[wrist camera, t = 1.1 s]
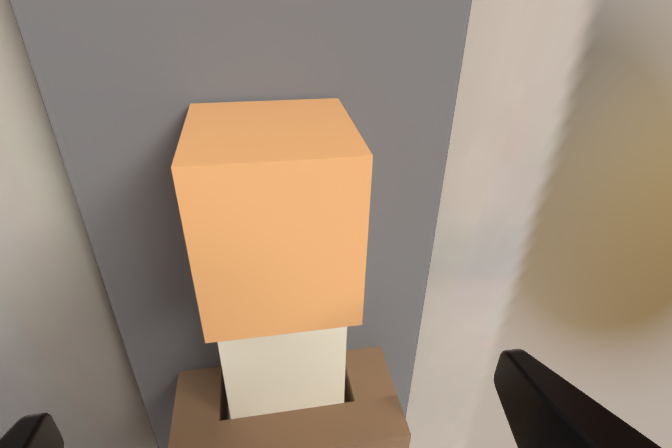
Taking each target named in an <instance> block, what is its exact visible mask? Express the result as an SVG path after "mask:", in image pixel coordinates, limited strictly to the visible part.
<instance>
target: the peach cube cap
mask: <svg viewBox="0 0 672 448" xmlns="http://www.w3.org/2000/svg"><path fill="white" fill-rule="evenodd" d="M372 164H373V155H372V153H371V151H370V150H369V148H368V146H367V145H366V143H365V141H364V140H363V138H362V136H361V135H360V133H359V131H358V130H357V128H356V127H355V125H354V123H353V122H352V120H351V118H350V117H349V115H348V113H347V112H346V110H345V108H344V107H343V105H342V103H341V102H340V100H339V98H326V99H299V100H272V101H245V102H218V103H191V104H190V106H189V109H188V112H187V116H186V119H185V122H184V126H183V129H182V132H181V136H180V139H179V142H178V146H177V149H176V152H175V155H174V159H173V162H172V165H171V170H172V175H173V180H174V186H175V191H176V196H177V201H178V206H179V211H180V216H181V221H182V226H183V232H184V237H185V242H186V247H187V252H188V257H189V262H190V267H191V273H192V278H193V283H194V288H195V293H196V298H197V303H198V308H199V313H200V319H201V324H202V329H203V334H204V339H205V343H212V342H221V341H229V340H238V339H246V338H255V337H263V336H272V335H280V334H289V333H297V332H306V331H314V330H323V329H331V328H340V327H348V326H357V325H362V319H363V304H364V288H365V273H366V257H367V242H368V226H369V211H370V195H371V180H372Z"/></svg>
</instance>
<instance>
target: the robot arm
mask: <svg viewBox="0 0 672 448" xmlns="http://www.w3.org/2000/svg"><path fill="white" fill-rule="evenodd" d="M494 384H495V387H496V390H497V393H498V395H499V398H500V401H501V404H502V406H503V409H504V412H505V414H506V417H507V420H508V422H509V425H510V428H511V431H512V433H513V436H514V439H515V441H516V444H517V446H518V448H661V447H660V446H658V445H657V444H655V443H654V442H653V441H651V440H650V439H648V438H647V437H646V436H644V435H643V434H641V433H640V432H638V431H637V430H636V429H634V428H633V427H631V426H630V425H629V424H627V423H626V422H624V421H623V420H621V419H620V418H619V417H617V416H616V415H614V414H613V413H611V412H610V411H609V410H607V409H606V408H604V407H603V406H602V405H600V404H599V403H597V402H596V401H595V400H593V399H592V398H590V397H589V396H588V395H586V394H585V393H583V392H582V391H580V390H579V389H577V388H576V387H575V386H573V385H572V384H571V383H569V382H568V381H566V380H565V379H563V378H562V377H560V376H559V375H558V374H556V373H555V372H553V371H552V370H551V369H549V368H548V367H547V366H545V365H544V364H542V363H541V362H539V361H538V360H537V359H535V358H534V357H532V356H531V355H530V354H528V353H527V352H525V351H524V350H521V349H513V350H505V351H503V352H502V353H501V354H500V357H499V361H498V364H497V367H496V371H495V374H494ZM0 448H64V442H63V438H62V436H61V434H60V432H59V430H58V428H57V426H56V424H55V422H54V420H53V418H52V416H51V415H50V414H48V413H39V414H32V415H27V416H24V417H22V418H21V419H19V420H18V421H17V422H16V423H15V424H14V425H13V426H12V427H11V428H10V430H9V431H8V432H7V433H6V434H5V435H4V436H3V437H2V438H1V439H0Z"/></svg>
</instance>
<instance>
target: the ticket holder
mask: <svg viewBox="0 0 672 448" xmlns="http://www.w3.org/2000/svg"><path fill="white" fill-rule="evenodd" d="M10 2H11V5H12V8H13V11H14V14H15V17H16V20H17V23H18V26H19V29H20V32H21V35H22V38H23V41H24V44H25V47H26V50H27V53H28V56H29V59H30V62H31V65H32V68H33V71H34V74H35V77H36V80H37V83H38V86H39V89H40V92H41V95H42V98H43V102H44V105H45V108H46V111H47V114H48V117H49V120H50V123H51V126H52V129H53V132H54V135H55V138H56V141H57V144H58V147H59V150H60V153H61V156H62V159H63V162H64V165H65V168H66V171H67V174H68V177H69V180H70V183H71V186H72V189H73V192H74V195H75V198H76V201H77V204H78V207H79V210H80V213H81V216H82V219H83V222H84V225H85V228H86V231H87V234H88V237H89V240H90V243H91V246H92V249H93V252H94V255H95V258H96V261H97V264H98V267H99V270H100V273H101V276H102V279H103V282H104V285H105V288H106V291H107V294H108V297H109V300H110V303H111V306H112V309H113V312H114V315H115V318H116V321H117V324H118V327H119V330H120V333H121V336H122V340H123V343H124V346H125V349H126V352H127V355H128V358H129V361H130V364H131V367H132V370H133V373H134V376H135V379H136V382H137V385H138V388H139V391H140V394H141V397H142V400H143V403H144V406H145V409H146V412H147V415H148V418H149V421H150V424H151V427H152V430H153V433H154V436H155V439H156V442H157V445H158V448H409V443H410V438H411V434H410V431H409V428H408V425H407V422H406V419H405V418H406V412H407V406H408V399H409V393H410V387H411V381H412V374H413V368H414V362H415V355H416V349H417V343H418V336H419V330H420V324H421V318H422V311H423V305H424V299H425V292H426V286H427V280H428V274H429V267H430V261H431V255H432V248H433V242H434V236H435V229H436V223H437V217H438V211H439V204H440V198H441V192H442V185H443V179H444V173H445V167H446V160H447V154H448V148H449V141H450V135H451V129H452V123H453V116H454V110H455V104H456V97H457V91H458V85H459V78H460V72H461V66H462V60H463V53H464V47H465V41H466V34H467V28H468V22H469V16H470V9H471V3H472V0H10ZM326 98H339V100H340V102H341V103H342V105H343V107H344V108H345V110H346V112H347V113H348V115H349V117H350V118H351V120H352V122H353V123H354V125H355V127H356V128H357V130H358V131H359V133H360V135H361V136H362V138H363V140H364V141H365V143H366V145H367V146H368V148H369V150H370V151H371V153H372V155H373V164H372V180H371V195H370V211H369V226H368V242H367V257H366V273H365V288H364V304H363V319H362V325H357V326H348V327H340V328H331V329H323V330H314V331H306V332H297V333H289V334H280V335H272V336H263V337H255V338H246V339H238V340H229V341H221V342H212V343H205V339H204V334H203V329H202V324H201V319H200V313H199V308H198V303H197V298H196V293H195V288H194V283H193V278H192V273H191V267H190V262H189V257H188V252H187V247H186V242H185V237H184V232H183V226H182V221H181V216H180V211H179V206H178V201H177V196H176V191H175V186H174V180H173V175H172V170H171V165H172V162H173V159H174V155H175V152H176V149H177V146H178V142H179V139H180V136H181V132H182V129H183V126H184V122H185V119H186V116H187V112H188V109H189V106H190V104H191V103H218V102H245V101H272V100H299V99H326Z"/></svg>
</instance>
